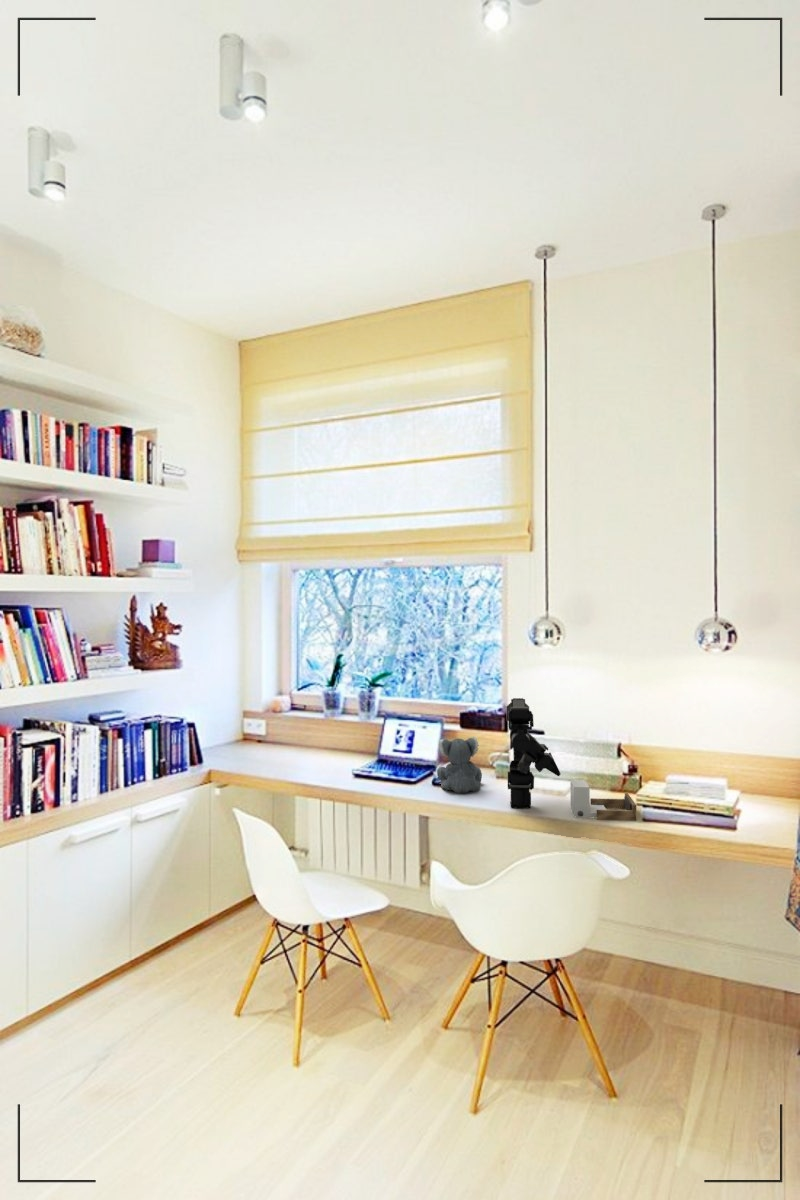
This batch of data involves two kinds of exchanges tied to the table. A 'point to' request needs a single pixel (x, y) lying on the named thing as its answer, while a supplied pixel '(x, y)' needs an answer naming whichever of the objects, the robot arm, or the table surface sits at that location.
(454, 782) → the koala plush
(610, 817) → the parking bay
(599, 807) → the grey block with dot
